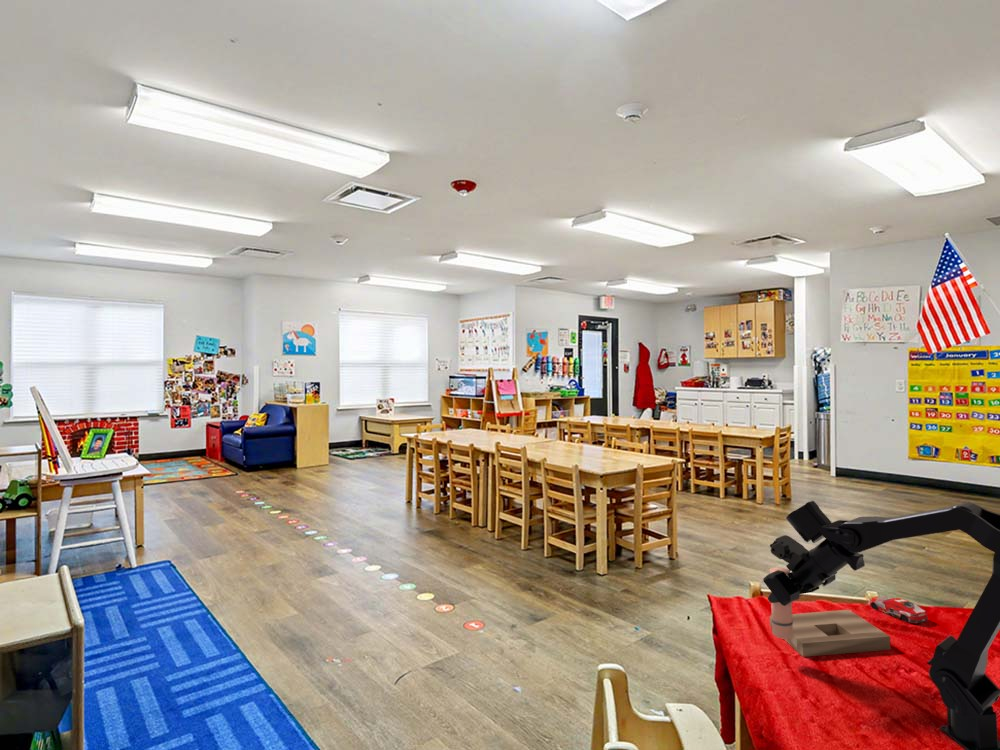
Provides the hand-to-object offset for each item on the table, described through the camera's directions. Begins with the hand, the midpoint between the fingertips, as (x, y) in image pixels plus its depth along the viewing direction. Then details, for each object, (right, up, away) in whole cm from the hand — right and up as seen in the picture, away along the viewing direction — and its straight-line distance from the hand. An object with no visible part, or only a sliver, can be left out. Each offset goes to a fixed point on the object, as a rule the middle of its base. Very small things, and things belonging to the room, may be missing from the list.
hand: (775, 597), depth 128 cm
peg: (+1, -8, -1) cm, 8 cm away
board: (+16, -12, +8) cm, 22 cm away
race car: (+40, -12, +18) cm, 45 cm away
